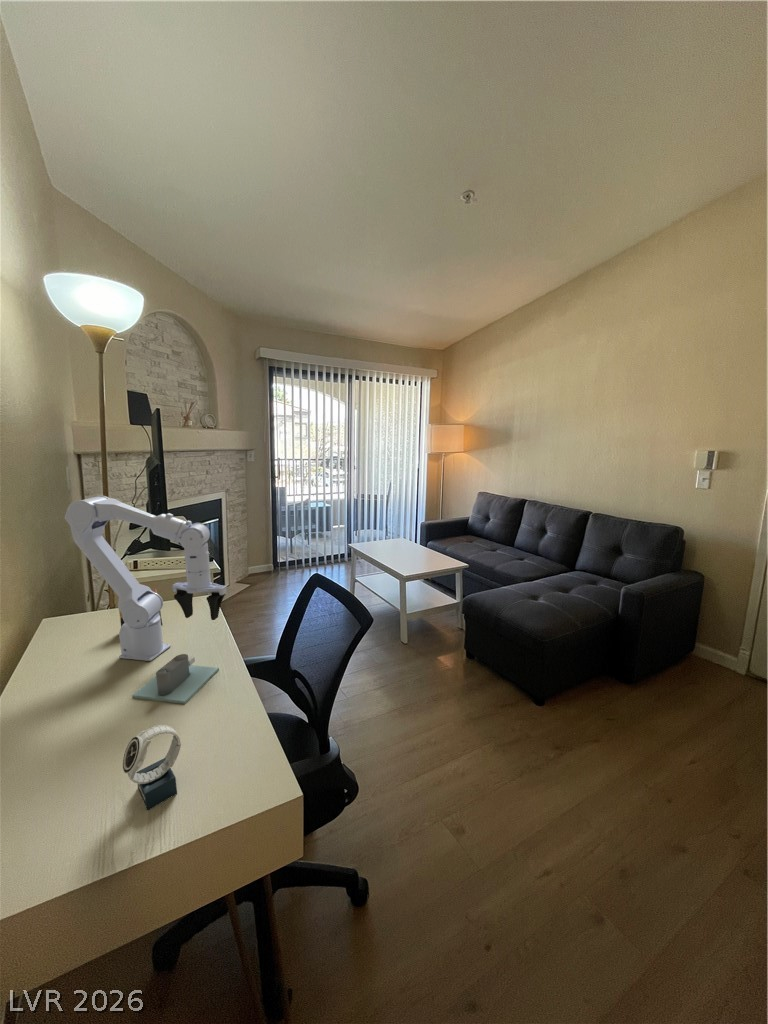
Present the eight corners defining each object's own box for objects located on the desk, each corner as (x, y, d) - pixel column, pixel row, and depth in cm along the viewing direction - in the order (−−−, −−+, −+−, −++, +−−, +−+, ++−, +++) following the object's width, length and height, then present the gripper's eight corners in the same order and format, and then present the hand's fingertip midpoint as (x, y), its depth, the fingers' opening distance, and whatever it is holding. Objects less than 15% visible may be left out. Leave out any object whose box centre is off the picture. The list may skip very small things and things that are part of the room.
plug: (154, 695, 87) (152, 674, 86) (186, 667, 98) (184, 649, 97) (167, 696, 87) (164, 676, 86) (197, 668, 98) (195, 650, 97)
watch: (124, 795, 63) (116, 736, 61) (177, 767, 69) (172, 711, 67) (132, 819, 59) (124, 756, 57) (188, 787, 65) (183, 728, 63)
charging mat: (132, 697, 87) (132, 695, 87) (172, 665, 100) (171, 663, 100) (185, 703, 86) (185, 701, 85) (218, 670, 98) (218, 667, 98)
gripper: (162, 572, 101) (167, 622, 103) (214, 576, 99) (218, 626, 101) (180, 564, 108) (184, 610, 110) (229, 567, 106) (232, 614, 108)
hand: (201, 617), depth 106 cm, fingers open, 7 cm apart
